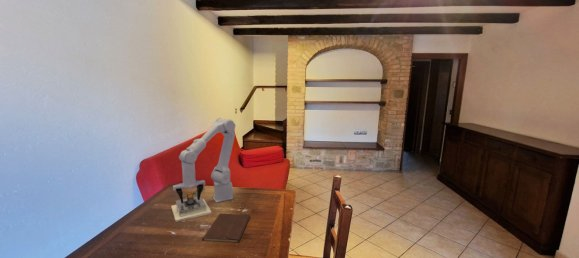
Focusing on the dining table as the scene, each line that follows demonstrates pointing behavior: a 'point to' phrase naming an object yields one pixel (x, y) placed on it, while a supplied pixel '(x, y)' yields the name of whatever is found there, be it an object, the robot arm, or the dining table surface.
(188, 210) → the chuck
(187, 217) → the stand base
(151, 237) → the dining table surface
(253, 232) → the dining table surface
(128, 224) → the dining table surface
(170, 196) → the dining table surface
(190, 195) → the orange topped can
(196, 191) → the pliers
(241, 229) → the notebook
